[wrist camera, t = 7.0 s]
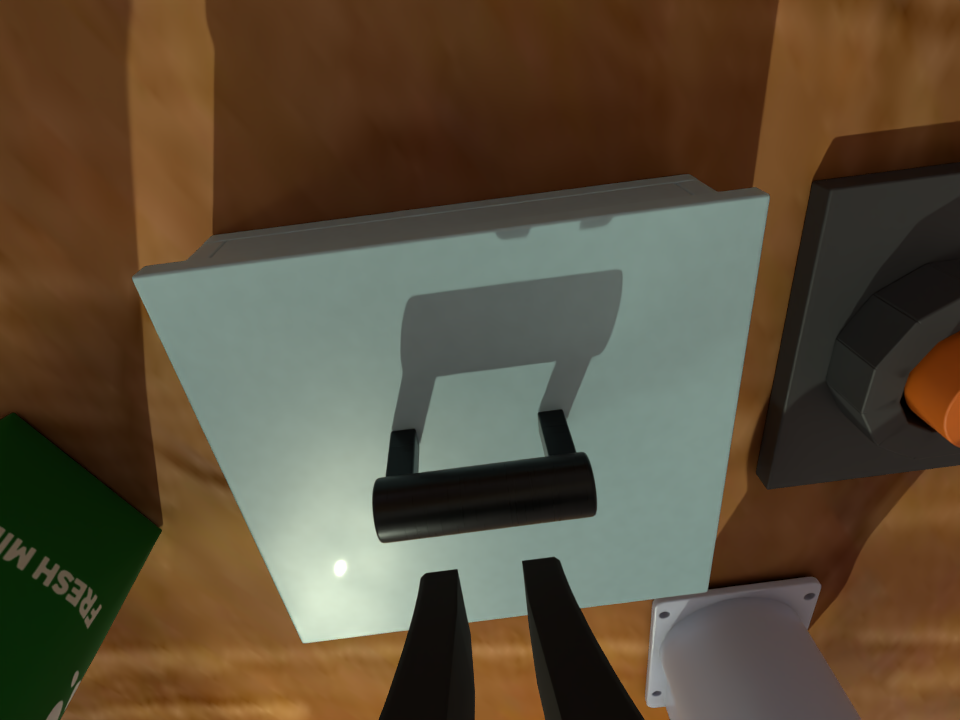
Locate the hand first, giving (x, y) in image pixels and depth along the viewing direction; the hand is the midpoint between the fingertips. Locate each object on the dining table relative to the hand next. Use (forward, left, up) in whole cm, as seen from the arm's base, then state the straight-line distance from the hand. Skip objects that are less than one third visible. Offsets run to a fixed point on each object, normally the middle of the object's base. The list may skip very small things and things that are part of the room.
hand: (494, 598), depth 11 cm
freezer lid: (-1, 0, -6) cm, 6 cm away
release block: (-2, -16, -10) cm, 18 cm away
